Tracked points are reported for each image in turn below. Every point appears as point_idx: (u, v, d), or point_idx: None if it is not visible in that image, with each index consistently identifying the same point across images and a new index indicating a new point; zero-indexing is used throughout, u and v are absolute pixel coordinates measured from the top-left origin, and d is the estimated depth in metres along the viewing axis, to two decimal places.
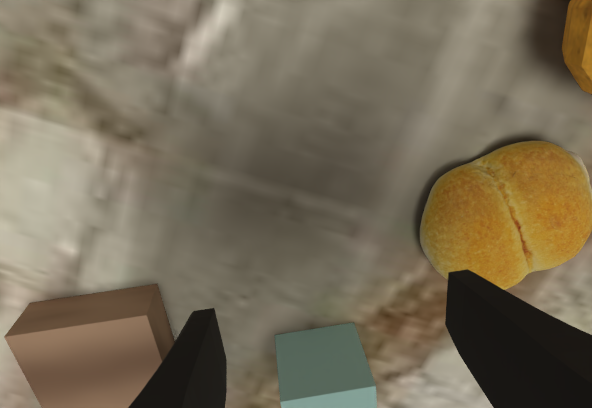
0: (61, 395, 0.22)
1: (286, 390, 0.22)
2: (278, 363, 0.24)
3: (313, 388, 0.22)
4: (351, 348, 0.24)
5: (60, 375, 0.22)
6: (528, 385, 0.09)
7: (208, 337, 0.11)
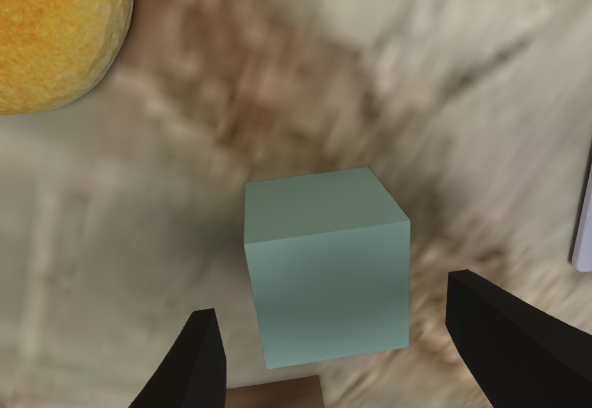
0: None
1: None
2: None
3: None
4: None
5: None
6: (528, 385, 0.09)
7: (208, 337, 0.11)
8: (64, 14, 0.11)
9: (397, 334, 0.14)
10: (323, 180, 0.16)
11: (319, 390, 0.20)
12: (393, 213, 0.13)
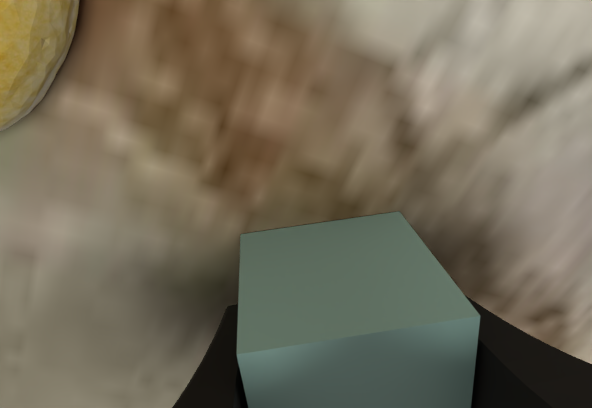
0: None
1: None
2: None
3: None
4: None
5: None
6: (483, 393, 0.09)
7: None
8: None
9: None
10: (343, 234, 0.12)
11: None
12: (452, 300, 0.09)
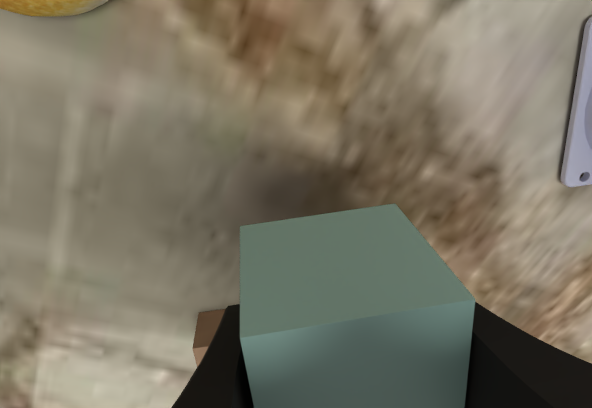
0: None
1: None
2: None
3: None
4: None
5: None
6: (484, 392, 0.09)
7: None
8: None
9: None
10: (341, 225, 0.12)
11: None
12: (447, 285, 0.09)
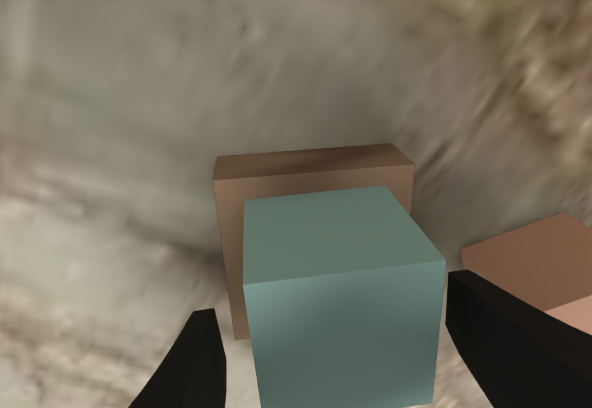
0: None
1: None
2: None
3: None
4: None
5: None
6: (528, 385, 0.09)
7: (208, 337, 0.11)
8: None
9: (420, 389, 0.12)
10: (335, 201, 0.14)
11: (396, 149, 0.16)
12: (424, 249, 0.11)
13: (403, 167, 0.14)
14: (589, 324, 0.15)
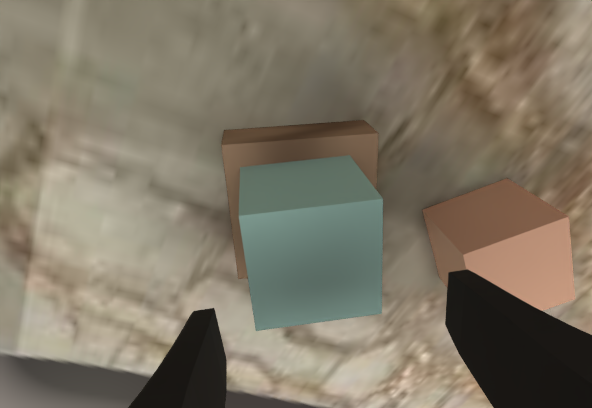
0: None
1: None
2: None
3: None
4: None
5: None
6: (528, 385, 0.09)
7: (208, 337, 0.11)
8: None
9: (371, 301, 0.16)
10: (310, 166, 0.18)
11: (366, 124, 0.20)
12: (369, 193, 0.15)
13: (369, 135, 0.19)
14: (517, 260, 0.19)
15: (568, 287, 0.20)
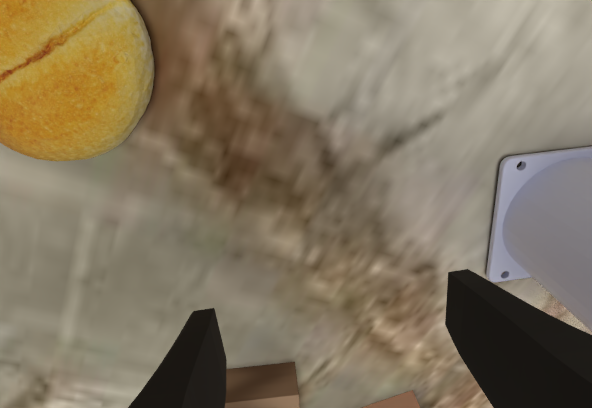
0: None
1: None
2: None
3: None
4: None
5: None
6: (528, 385, 0.09)
7: (208, 337, 0.11)
8: (109, 101, 0.17)
9: None
10: None
11: (294, 372, 0.26)
12: None
13: (292, 396, 0.25)
14: None
15: None
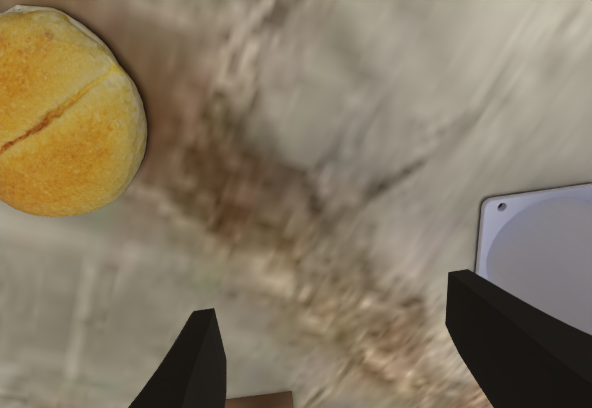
0: None
1: None
2: None
3: None
4: None
5: None
6: (528, 385, 0.09)
7: (208, 337, 0.11)
8: (104, 165, 0.18)
9: None
10: None
11: (291, 401, 0.27)
12: None
13: None
14: None
15: None
